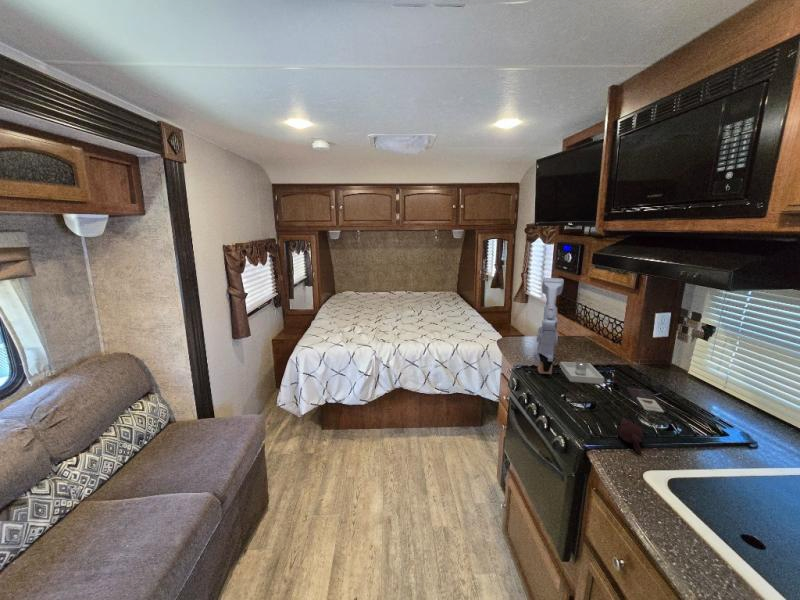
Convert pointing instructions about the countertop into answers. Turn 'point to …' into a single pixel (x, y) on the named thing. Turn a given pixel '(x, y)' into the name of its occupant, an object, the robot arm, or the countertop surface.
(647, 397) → the chocolate bar
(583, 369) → the tin
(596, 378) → the tray
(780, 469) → the countertop surface
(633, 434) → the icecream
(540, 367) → the carton
